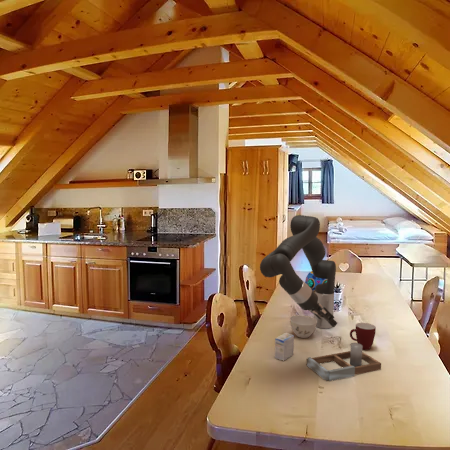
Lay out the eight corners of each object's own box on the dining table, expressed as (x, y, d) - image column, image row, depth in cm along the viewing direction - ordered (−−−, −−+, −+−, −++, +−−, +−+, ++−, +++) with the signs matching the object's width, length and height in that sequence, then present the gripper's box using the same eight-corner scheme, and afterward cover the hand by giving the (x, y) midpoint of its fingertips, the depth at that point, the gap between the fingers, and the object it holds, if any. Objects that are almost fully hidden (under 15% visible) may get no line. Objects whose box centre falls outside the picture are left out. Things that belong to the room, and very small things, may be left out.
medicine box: (284, 352, 163) (284, 332, 162) (293, 355, 160) (294, 334, 159) (274, 358, 157) (274, 338, 156) (284, 361, 154) (284, 340, 153)
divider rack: (305, 365, 151) (306, 356, 151) (358, 355, 160) (358, 347, 160) (326, 381, 138) (327, 372, 138) (382, 370, 147) (382, 361, 147)
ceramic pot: (303, 298, 239) (304, 274, 238) (306, 290, 256) (306, 268, 254) (332, 300, 234) (333, 276, 232) (333, 292, 251) (334, 270, 249)
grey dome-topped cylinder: (347, 363, 153) (348, 343, 152) (356, 361, 154) (357, 342, 154) (354, 368, 149) (355, 348, 148) (364, 366, 150) (365, 346, 149)
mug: (347, 348, 166) (348, 326, 165) (350, 342, 173) (351, 320, 172) (373, 353, 161) (374, 330, 160) (375, 346, 169) (376, 324, 168)
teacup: (312, 343, 172) (313, 326, 171) (285, 338, 177) (286, 321, 177) (320, 331, 185) (321, 315, 184) (295, 327, 191) (295, 311, 190)
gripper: (320, 292, 134) (346, 319, 139) (298, 282, 147) (323, 307, 152) (306, 308, 132) (333, 336, 138) (286, 297, 146) (311, 322, 151)
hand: (328, 321), depth 145 cm, fingers open, 8 cm apart
